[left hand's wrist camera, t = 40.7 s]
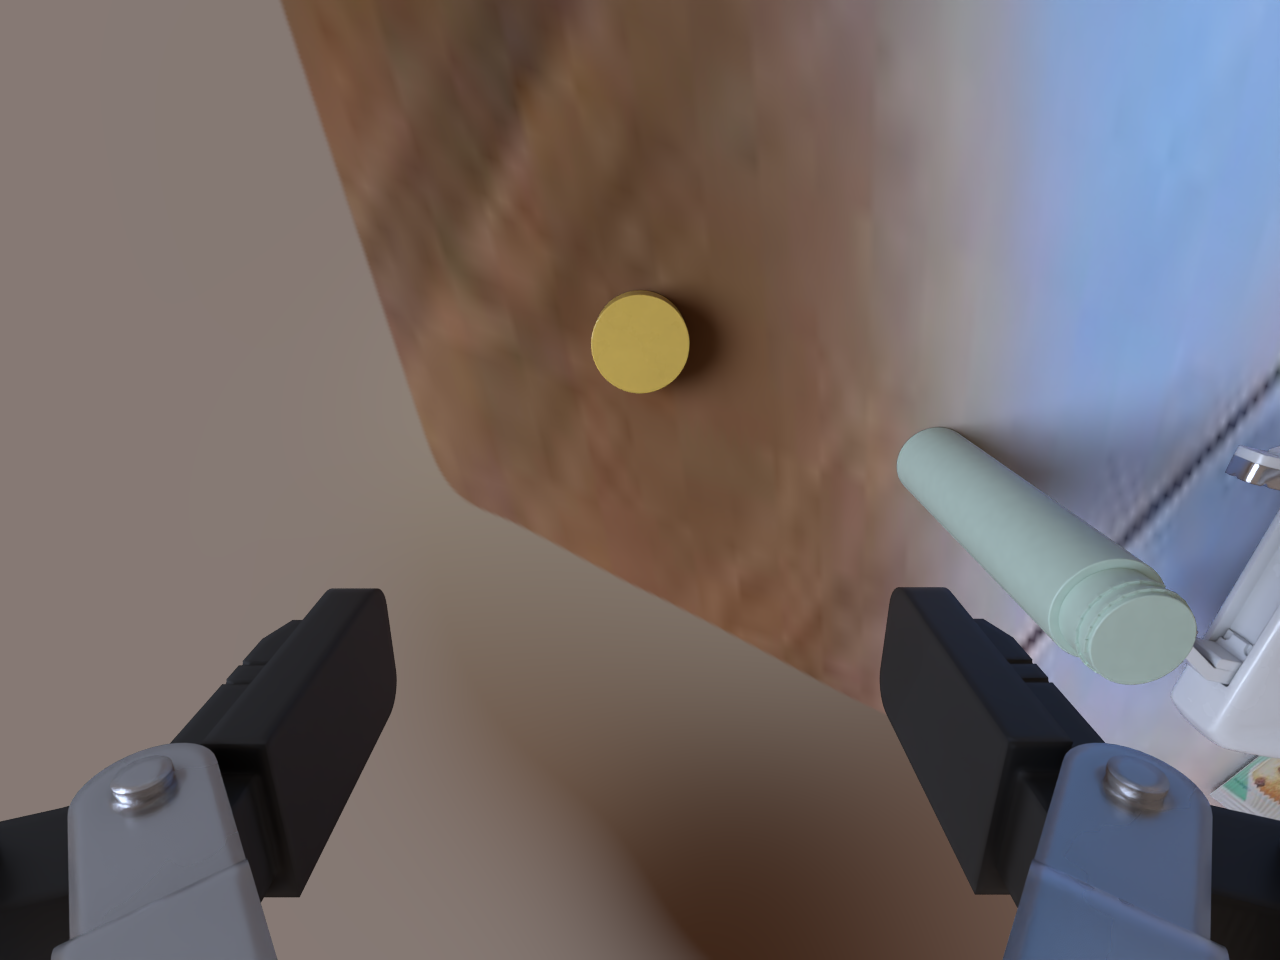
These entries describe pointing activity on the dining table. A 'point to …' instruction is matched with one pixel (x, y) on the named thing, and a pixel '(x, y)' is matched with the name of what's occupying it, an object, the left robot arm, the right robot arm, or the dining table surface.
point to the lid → (640, 342)
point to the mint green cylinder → (1051, 561)
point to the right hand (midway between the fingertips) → (1192, 548)
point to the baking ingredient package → (1253, 789)
